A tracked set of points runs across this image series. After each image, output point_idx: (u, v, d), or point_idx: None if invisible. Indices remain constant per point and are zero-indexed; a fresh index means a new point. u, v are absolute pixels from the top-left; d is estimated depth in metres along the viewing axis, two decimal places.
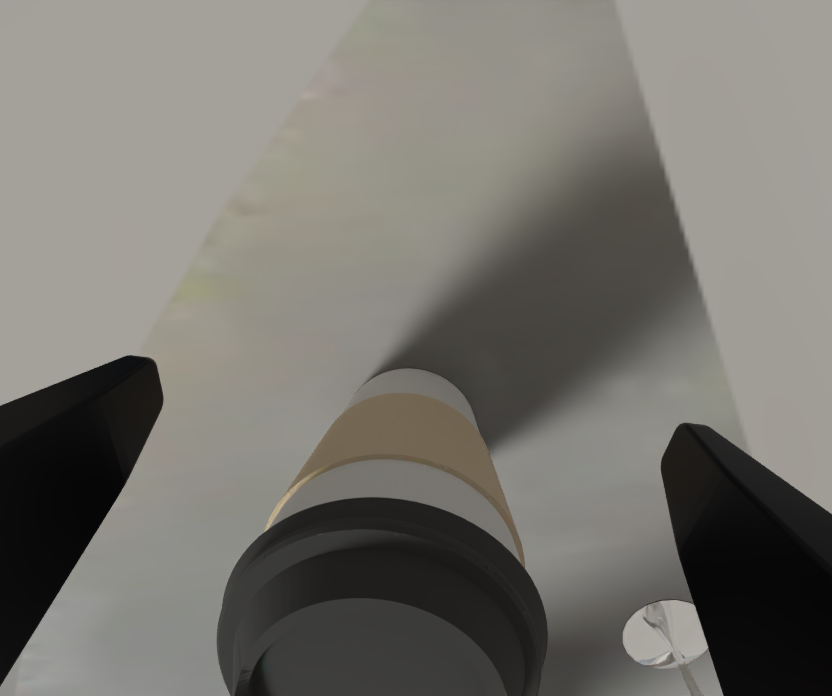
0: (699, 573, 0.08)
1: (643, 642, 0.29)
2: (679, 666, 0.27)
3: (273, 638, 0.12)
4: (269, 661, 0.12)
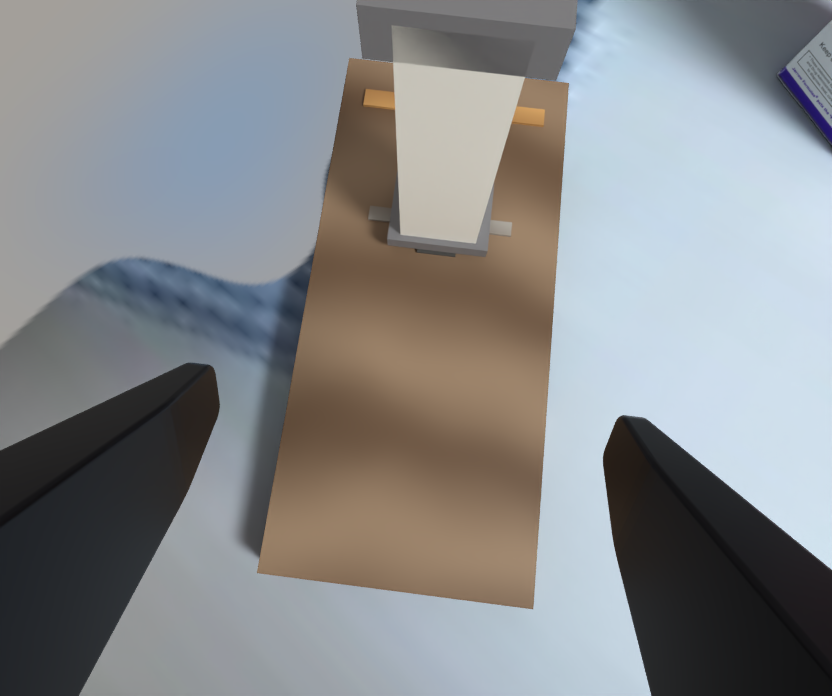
0: (630, 564, 0.08)
1: None
2: None
3: None
4: None
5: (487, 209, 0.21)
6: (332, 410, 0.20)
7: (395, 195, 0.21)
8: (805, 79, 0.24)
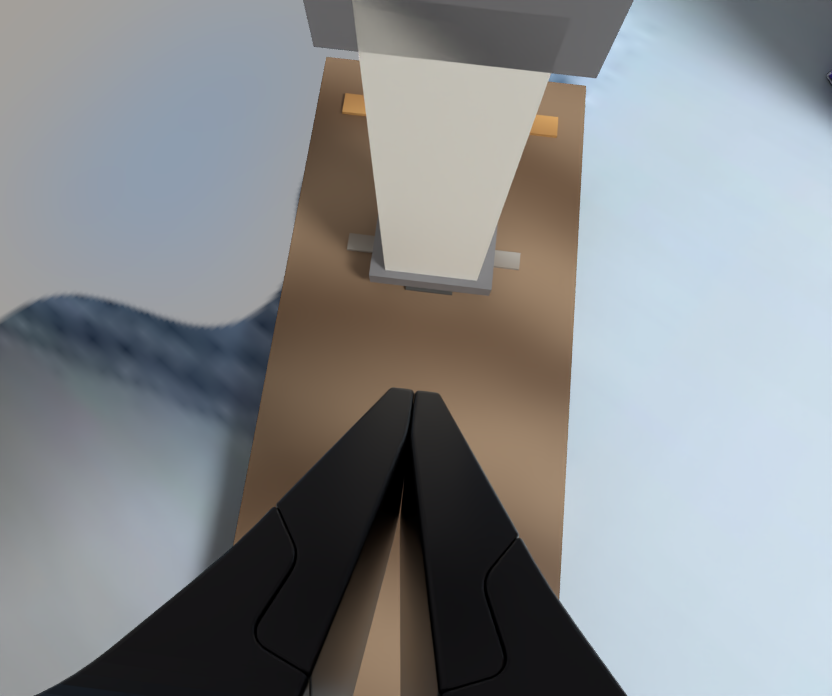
0: (401, 536, 0.08)
1: None
2: None
3: None
4: None
5: None
6: None
7: (379, 221, 0.17)
8: None
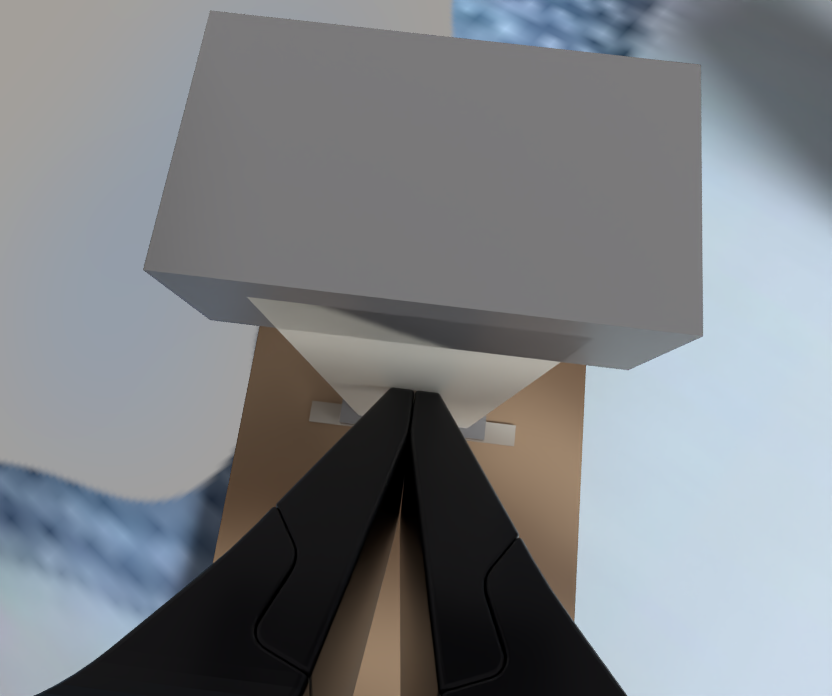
0: (401, 535, 0.08)
1: None
2: None
3: None
4: None
5: None
6: None
7: None
8: None
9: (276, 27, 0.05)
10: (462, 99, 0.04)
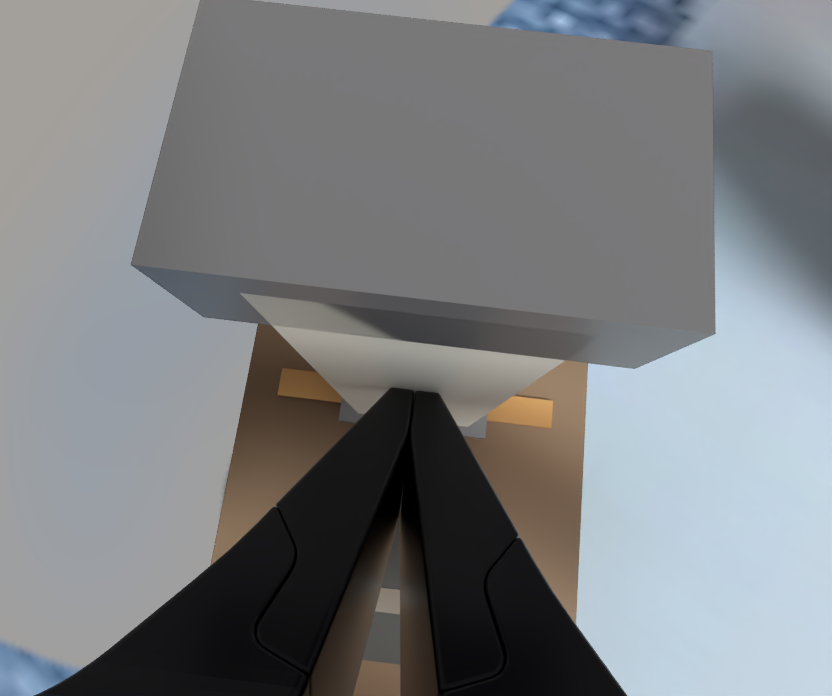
0: (401, 535, 0.08)
1: None
2: None
3: None
4: None
5: None
6: None
7: None
8: None
9: (269, 12, 0.05)
10: (463, 87, 0.04)
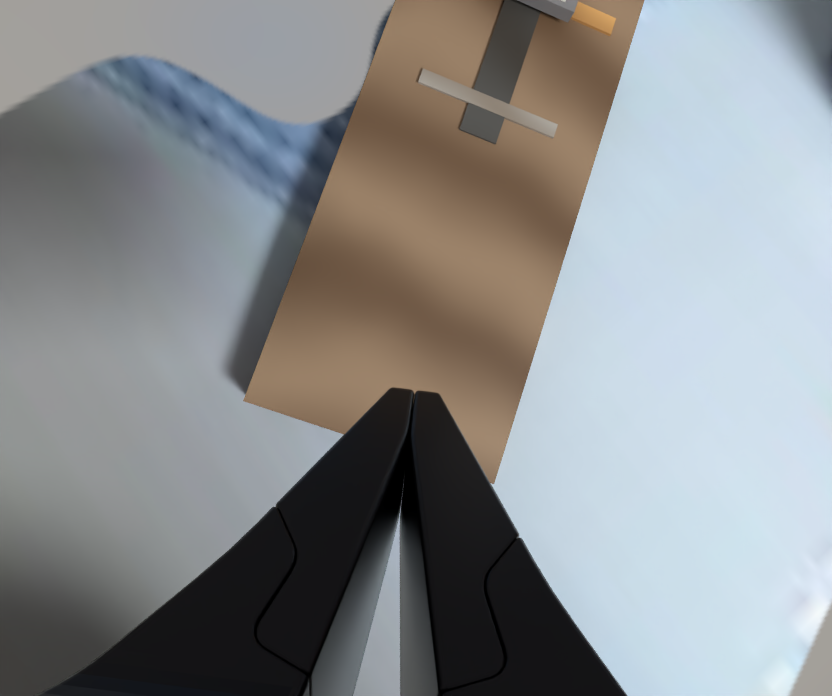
0: (401, 535, 0.08)
1: None
2: None
3: None
4: None
5: None
6: (344, 264, 0.20)
7: None
8: None
9: None
10: None
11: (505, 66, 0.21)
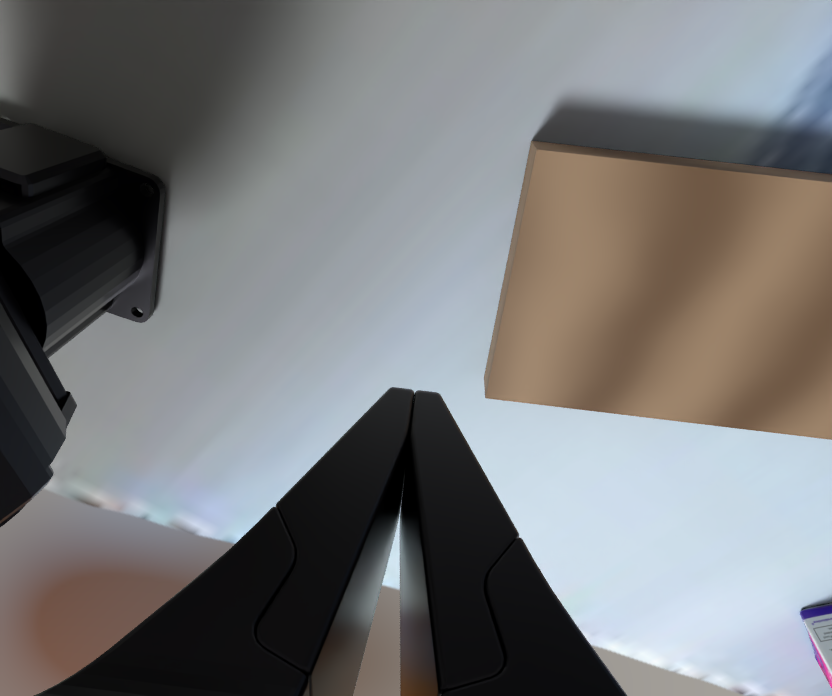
0: (401, 535, 0.08)
1: None
2: None
3: None
4: None
5: None
6: (707, 225, 0.17)
7: None
8: None
9: None
10: None
11: None
